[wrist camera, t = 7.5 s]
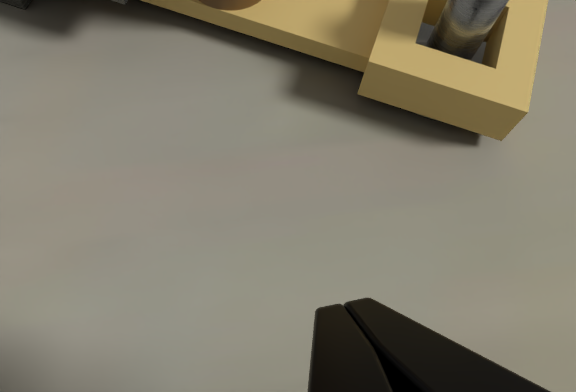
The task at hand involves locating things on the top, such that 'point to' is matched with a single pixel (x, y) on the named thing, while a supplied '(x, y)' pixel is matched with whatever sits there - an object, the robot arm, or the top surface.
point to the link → (400, 52)
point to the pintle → (462, 28)
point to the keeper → (24, 0)
